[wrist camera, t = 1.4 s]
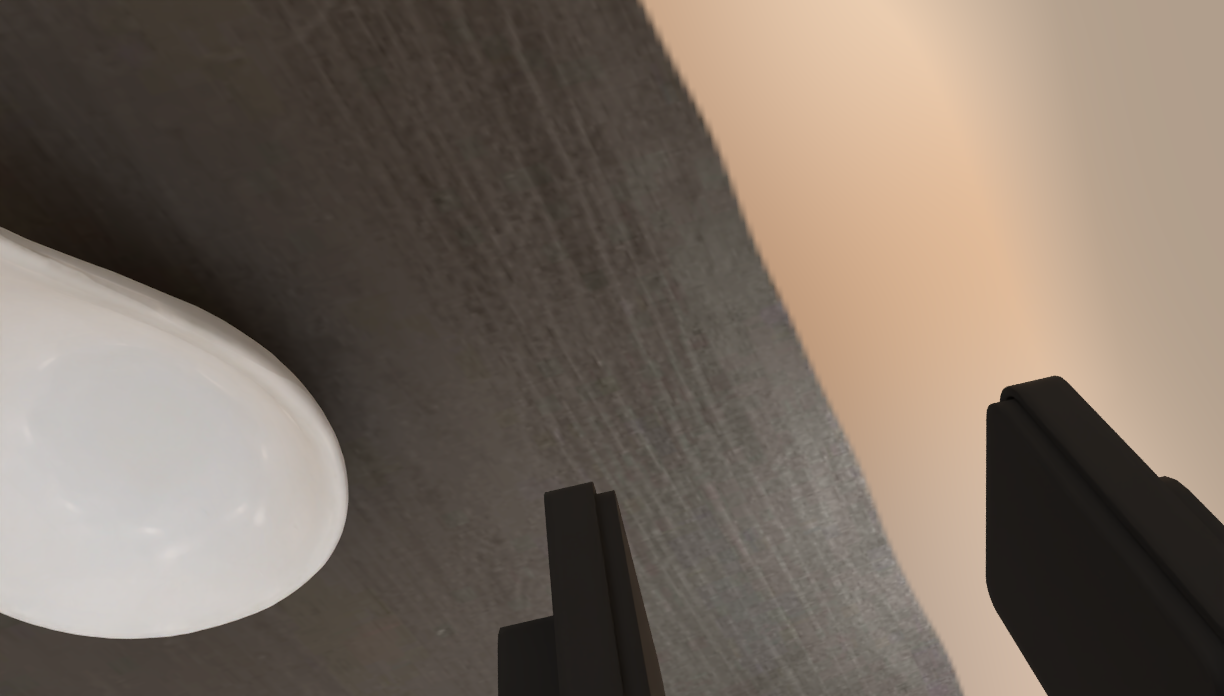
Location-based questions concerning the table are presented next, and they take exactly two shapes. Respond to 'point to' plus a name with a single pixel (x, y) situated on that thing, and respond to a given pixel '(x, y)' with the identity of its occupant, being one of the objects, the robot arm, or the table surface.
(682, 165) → the table surface
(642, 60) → the table surface
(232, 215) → the table surface
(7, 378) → the spoon rest
